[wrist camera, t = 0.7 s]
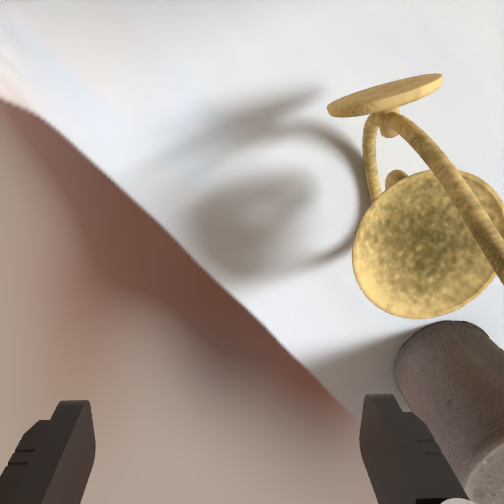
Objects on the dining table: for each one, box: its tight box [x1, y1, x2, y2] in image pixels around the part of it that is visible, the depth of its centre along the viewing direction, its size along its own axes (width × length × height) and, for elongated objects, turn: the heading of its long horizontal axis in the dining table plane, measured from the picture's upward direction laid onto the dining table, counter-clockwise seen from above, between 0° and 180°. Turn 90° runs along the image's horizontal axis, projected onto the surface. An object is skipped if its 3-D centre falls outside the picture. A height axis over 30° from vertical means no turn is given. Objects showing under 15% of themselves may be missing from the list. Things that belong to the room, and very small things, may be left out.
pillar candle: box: [394, 321, 504, 504], centre depth 36 cm, size 10×10×15 cm
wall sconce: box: [327, 74, 504, 319], centre depth 24 cm, size 14×10×25 cm
